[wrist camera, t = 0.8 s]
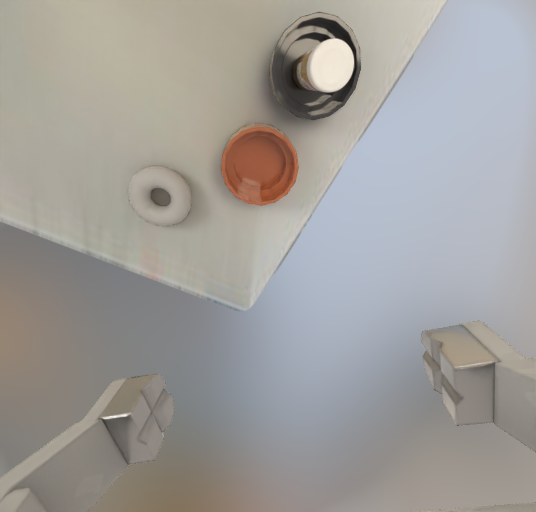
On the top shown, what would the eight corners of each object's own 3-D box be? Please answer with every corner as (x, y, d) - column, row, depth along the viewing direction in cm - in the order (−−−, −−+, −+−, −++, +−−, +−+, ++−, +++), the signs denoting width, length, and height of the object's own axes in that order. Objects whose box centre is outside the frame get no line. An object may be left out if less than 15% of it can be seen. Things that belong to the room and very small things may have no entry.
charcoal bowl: (277, 13, 37) (281, 2, 32) (358, 32, 38) (373, 24, 33) (263, 108, 42) (265, 110, 38) (334, 121, 44) (344, 126, 39)
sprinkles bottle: (287, 83, 41) (302, 81, 29) (300, 45, 38) (322, 28, 27) (316, 96, 42) (342, 99, 30) (330, 60, 39) (363, 49, 28)
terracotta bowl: (228, 116, 43) (225, 120, 38) (300, 129, 44) (305, 135, 39) (221, 188, 48) (218, 199, 43) (285, 197, 49) (289, 209, 45)
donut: (204, 185, 48) (146, 150, 44) (201, 192, 45) (139, 155, 41) (178, 230, 52) (123, 202, 48) (174, 239, 49) (115, 210, 45)
